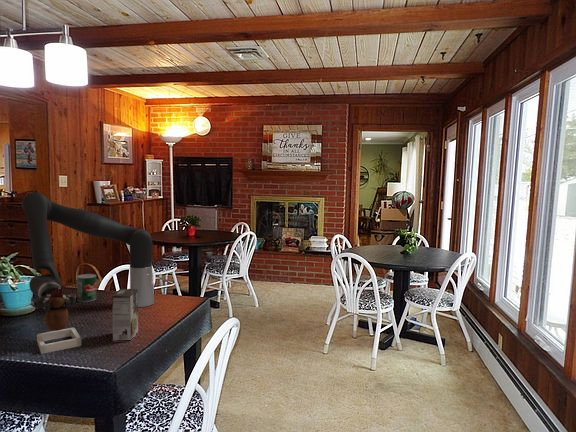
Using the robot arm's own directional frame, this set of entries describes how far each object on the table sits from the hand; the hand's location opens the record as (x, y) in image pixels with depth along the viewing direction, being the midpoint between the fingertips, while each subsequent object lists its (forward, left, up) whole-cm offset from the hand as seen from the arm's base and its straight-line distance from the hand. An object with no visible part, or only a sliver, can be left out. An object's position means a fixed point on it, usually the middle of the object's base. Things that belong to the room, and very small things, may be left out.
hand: (58, 306), depth 133 cm
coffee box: (-20, +3, -14) cm, 25 cm away
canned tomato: (-18, -52, -14) cm, 56 cm away
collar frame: (0, -3, -13) cm, 14 cm away
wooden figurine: (0, -3, -9) cm, 9 cm away
